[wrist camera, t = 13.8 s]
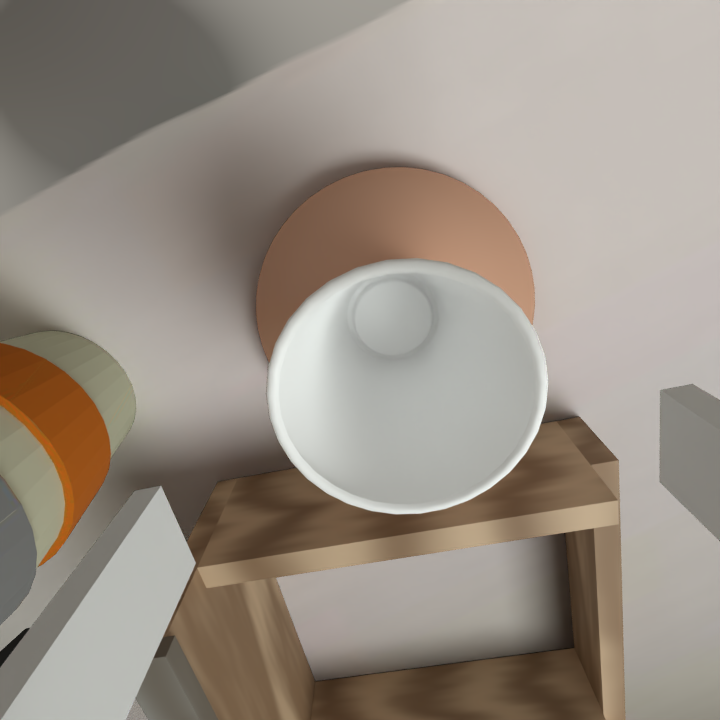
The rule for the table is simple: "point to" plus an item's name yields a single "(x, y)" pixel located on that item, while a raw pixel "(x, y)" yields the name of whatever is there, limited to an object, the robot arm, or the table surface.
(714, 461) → the robot arm
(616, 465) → the frame
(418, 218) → the saucer
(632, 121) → the table surface
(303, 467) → the cup
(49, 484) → the reusable coffee cup
